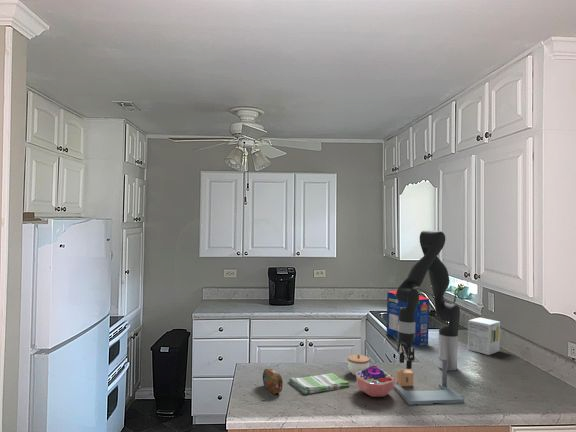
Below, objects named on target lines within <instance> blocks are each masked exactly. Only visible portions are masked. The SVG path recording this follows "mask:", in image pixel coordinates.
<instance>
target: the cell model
mask: <svg viewBox="0 0 576 432" xmlns="http://www.w3.org/2000/svg"><path fill="white" fill-rule="evenodd" d="M355 374H356V375H355V377H356V386H357V388H358V389H359V390H360V391H363V393H365V394H366V395H368V396H370V397H372V398H382V397H385V396H387V395H388V394H389V393H390V392H391V391H392V390H393V389H394V385H396V384H395V383H396V382H395V381H396V380H395V379H396V377H395V375H393V374H392V373H391V372H390V371H388V370H385V369H382V368H379V367H378V366H377V365H369V368H365V369H359V370H357V371H356V373H355Z"/></svg>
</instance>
